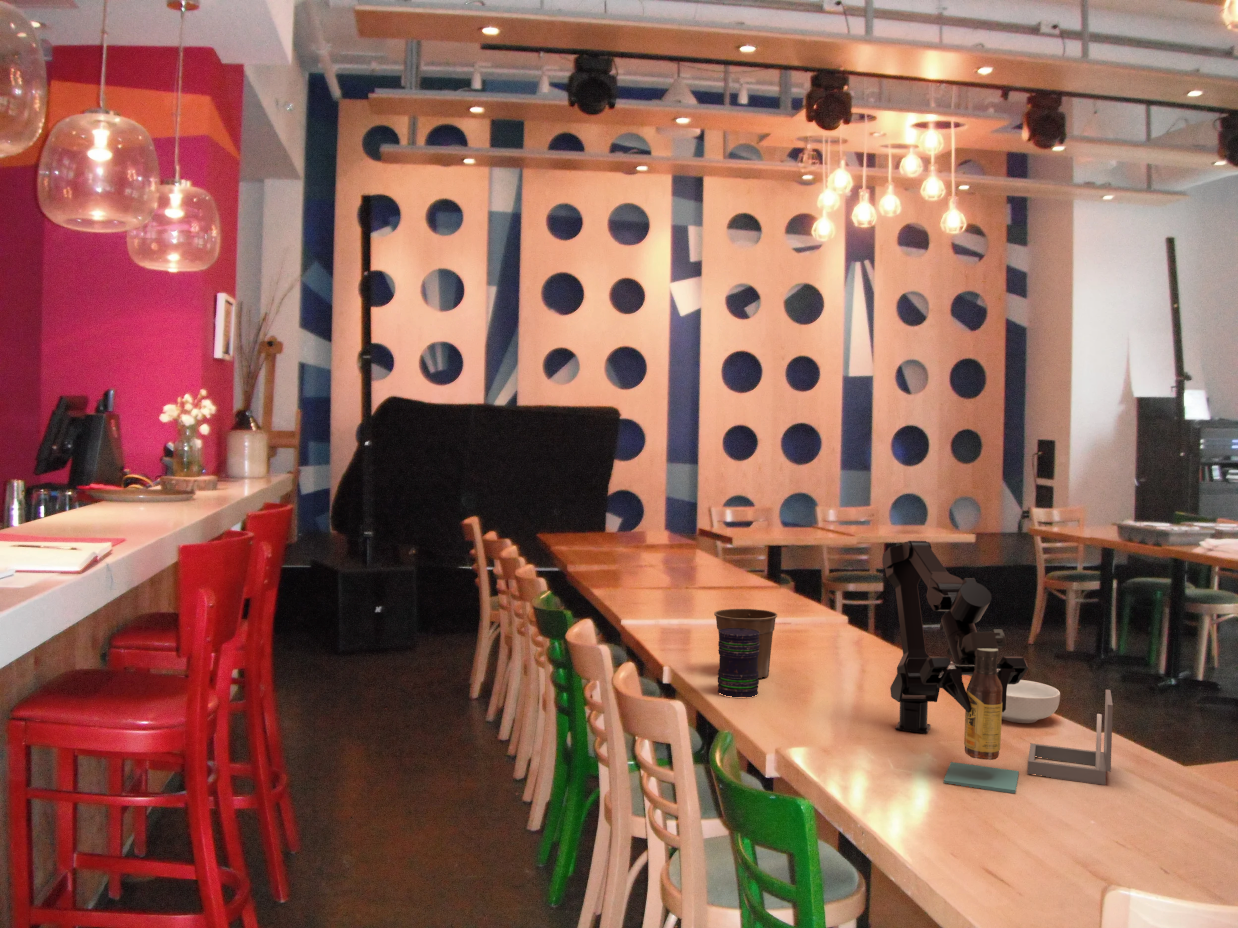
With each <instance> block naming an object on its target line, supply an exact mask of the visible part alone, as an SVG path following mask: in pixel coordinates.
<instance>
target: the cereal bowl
mask: <svg viewBox="0 0 1238 928" xmlns="http://www.w3.org/2000/svg"><path fill="white" fill-rule="evenodd" d="M1060 700H1061V692H1060V691H1059V689H1057V688H1056V687H1054V686H1051V685H1049V684H1045V683H1042V682H1037V681H1033V680H1024V679H1021V680H1020V681H1019V683H1017V684H1008V685H1007V694H1006V710H1005V711H1004V712H1002V720H1003V721H1008V722H1011V723H1017V724H1018V723H1019V724H1034V723H1036V722H1037V721H1038V720H1042V719H1047V718H1048V717H1051V716H1052V715H1053V714H1054V713H1055V712H1056V711H1057V709H1058V708H1059V705H1060Z"/></svg>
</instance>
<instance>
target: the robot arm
mask: <svg viewBox="0 0 1238 928" xmlns="http://www.w3.org/2000/svg"><path fill="white" fill-rule="evenodd" d="M881 558H882V560H881V561H882V567H883V568H884V571H885V576H886V579H887V580H888V581H889V582H890V584H891V586H893V588H894V590H895V597H896V604H897V613H898V621H899V631H900V637H901V638H900V639H901V648H902V656H901V658H900V659H899V662H898V665H897V667H896V672H897V673H896V676H895V677H894V679H893V681H892V683H891V685H890V697H891V698H892V699H894V700H895V701H896V702H897V703H899V716H898V717H899V721H898V722H897V724H896V726H895V730H896V731H904V732H911V733H919V734H928V733H929V731H930V728H932V727H931V726H932V725H931V724H930V723H928V709H929V708H928V706H929V705H928V704H929V702H931V703H932V702H934V703H937V702H938V699H939V694H940V689H942V690H944V691H945V692H946V693H947V694H948V695H949V696H951V697H952V698H953V699H954V700H955V701H956V702H957V703H958V704H959V705H960V706H961V707H962V708H963V709H964V710H965V712H966V711H967V712H970V711H971V705H970V701H969V698H968V695H967V693H966V692H967V689H966V688H965V685H964V682H963V676H972V675H973V672H974V670H975V657H976V656H975V650H976V649H982V648H992V649H998V650H999V649H1002V648H1004V647H1006V645H1007V639H1006V636H1005V633H1004V631H1003V629H1002V628H1001V629H1000V628H998V629H997V628H996V629H995V628H994V629H992V630H990V631H978V630H977V628H976V625H975V624H976V623H978V622H979V621H980V620H981V619H982V616H983V615H984V614H985V613H986V610H987V609H988V607H989V605H990V603H991V602H992V594H991V591H990V590H988V589H987V587H986V586H985V585H983V584H982V583H978V582H977V581H976V579H975V577H972V578H971V577H969V578H968V577H965V578H963V579H962V578H960V577H958V576H957V575H954V574H950V573H949V572H948V571H947V568H945V567H944V565H943V563H942V562H941V561H940V560H939V558H938V557H937V554H936V553H934V551H933V550H932V546H931V543H930V542H929V541H926V540H907V541H904V542H903V543H902V544H899V545H896V546H892V547H888V548H887V550H886V551H884V553H883V554H882V556H881ZM921 579H922V581H923V582H924V584H925V585H926V587H927V592H926V600H927V603H928V605H929V606H930V607H931V609H932V610H933V611H935V612H944V613H943V614H942V616H941V618H940V621H941V622H940V624H939V631H941V632H942V631H944V634H945V638H946V640H947V641H946V642H947V644H948V646H949V647H948V649H947V650H946V651H947V654H948V656H952V659H953V661H951V660H950V657H948V656H946V655H945V656H944V655H943V656H941V655H940V656H937V655H935V656H930V655H929V654H928V653H927V649H926V642H925V641H926V640H925V634H924V624H923V617H922V610H921V609H922V608H921V602H920V601H921V600H920V593H919V583H920V581H921ZM1028 669H1029V666H1028V663H1027V660H1026V659H1025V658H1024V657H1022V656H1020V655H1019V656H1016V655H1015V656H1014V655H1013V656H1002V658H1001V659H1000V661H999V662H998V663H997V673H996V675H997V677H998V679H999V680H1000V682H1001V684H1002V690H1003V691H1002V712H1004V711H1005V710H1006V694H1007V685H1008V684H1017V683H1019V681H1020V680H1022V679H1023V677H1024V675H1025V674H1026V673H1027V671H1028Z"/></svg>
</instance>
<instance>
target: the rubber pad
mask: <svg viewBox="0 0 1238 928" xmlns="http://www.w3.org/2000/svg"><path fill="white" fill-rule="evenodd" d="M1019 772H1020V771H1019V770H1013V769H1007V768H999V767H993V766H985V765H979V764H978V765H977V764H969V763H968V764H967V763H961V762H954V761H951V762H950V763H949V766H948V767H947V770H946V773H945V776H944V779H943V784H944V783H949V784H948V785H950V784H956V785H955V786H957V785H961V786H960V787H965V786H969V787H968V788H972V787H974V788H973V789H979V788H981V789H980V790H987V791H993V792H1000V793H1008V794H1014V793H1017V788H1016V787H1018V782H1019V776H1018V775H1020V773H1019ZM1017 781H1018V782H1017Z"/></svg>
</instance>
